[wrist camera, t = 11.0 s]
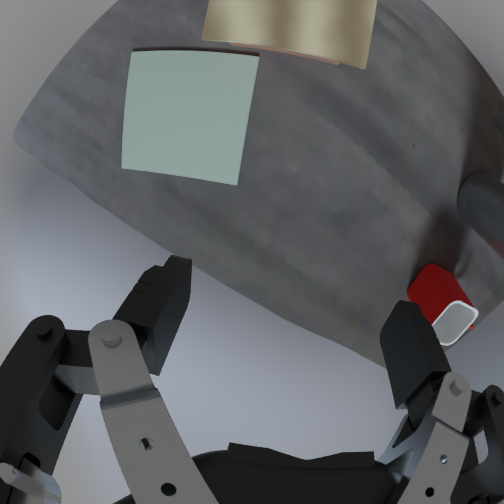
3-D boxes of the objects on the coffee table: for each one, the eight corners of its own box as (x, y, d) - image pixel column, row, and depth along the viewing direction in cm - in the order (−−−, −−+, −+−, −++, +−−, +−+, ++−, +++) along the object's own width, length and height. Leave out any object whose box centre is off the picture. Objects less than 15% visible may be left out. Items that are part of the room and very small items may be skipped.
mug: (401, 294, 46) (420, 337, 36) (428, 258, 42) (454, 297, 32) (441, 312, 47) (461, 350, 38) (466, 280, 43) (491, 317, 33)
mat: (259, 57, 30) (259, 56, 30) (237, 184, 39) (236, 185, 39) (133, 52, 30) (131, 51, 30) (123, 167, 40) (121, 168, 39)
